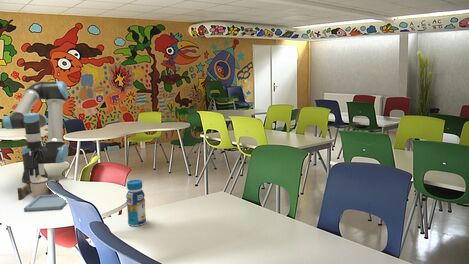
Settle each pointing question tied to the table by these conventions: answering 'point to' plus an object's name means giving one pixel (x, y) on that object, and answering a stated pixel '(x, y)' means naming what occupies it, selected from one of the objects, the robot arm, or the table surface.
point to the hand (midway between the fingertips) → (37, 177)
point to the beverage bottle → (135, 203)
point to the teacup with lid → (39, 186)
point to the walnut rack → (29, 190)
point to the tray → (46, 203)
